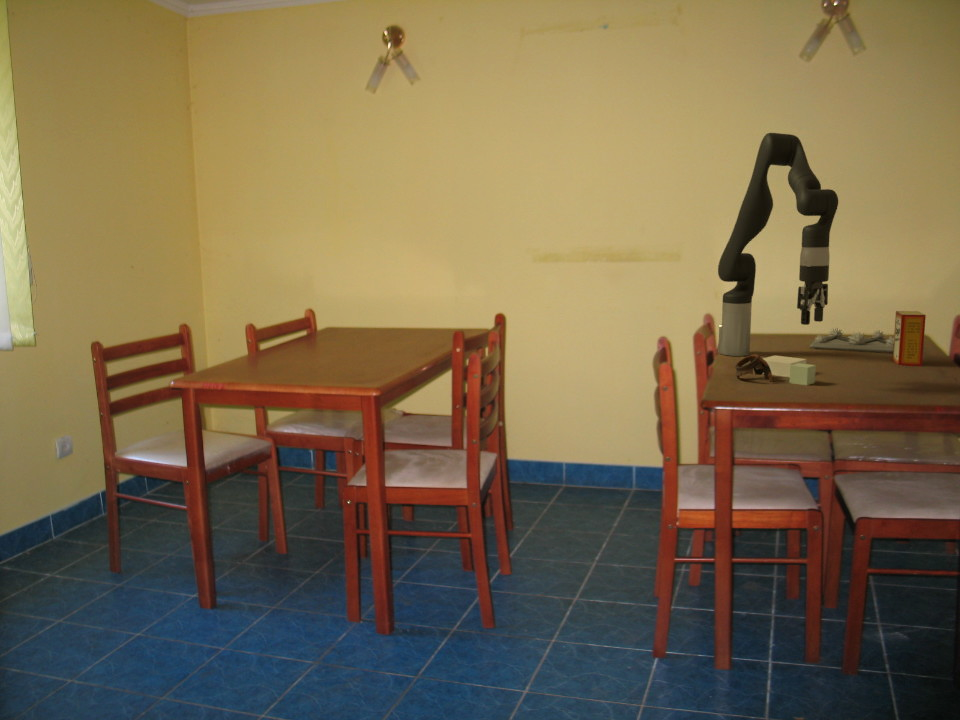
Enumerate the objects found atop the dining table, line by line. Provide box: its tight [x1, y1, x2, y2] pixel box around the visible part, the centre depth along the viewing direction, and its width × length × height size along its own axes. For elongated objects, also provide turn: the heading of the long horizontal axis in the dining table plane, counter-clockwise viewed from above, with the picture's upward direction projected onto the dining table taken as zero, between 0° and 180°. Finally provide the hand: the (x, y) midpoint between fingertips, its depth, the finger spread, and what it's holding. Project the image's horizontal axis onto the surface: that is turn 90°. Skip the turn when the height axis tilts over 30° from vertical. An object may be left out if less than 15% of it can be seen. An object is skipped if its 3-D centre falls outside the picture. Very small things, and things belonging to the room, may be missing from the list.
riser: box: [762, 355, 807, 378], centre depth 263 cm, size 10×10×4 cm
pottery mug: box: [734, 353, 773, 383], centre depth 255 cm, size 12×10×8 cm
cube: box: [789, 363, 817, 386], centre depth 249 cm, size 5×5×5 cm
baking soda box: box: [892, 310, 927, 367], centre depth 275 cm, size 10×6×16 cm
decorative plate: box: [808, 327, 894, 354], centre depth 308 cm, size 30×22×7 cm
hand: (811, 322), depth 246 cm, fingers open, 8 cm apart
